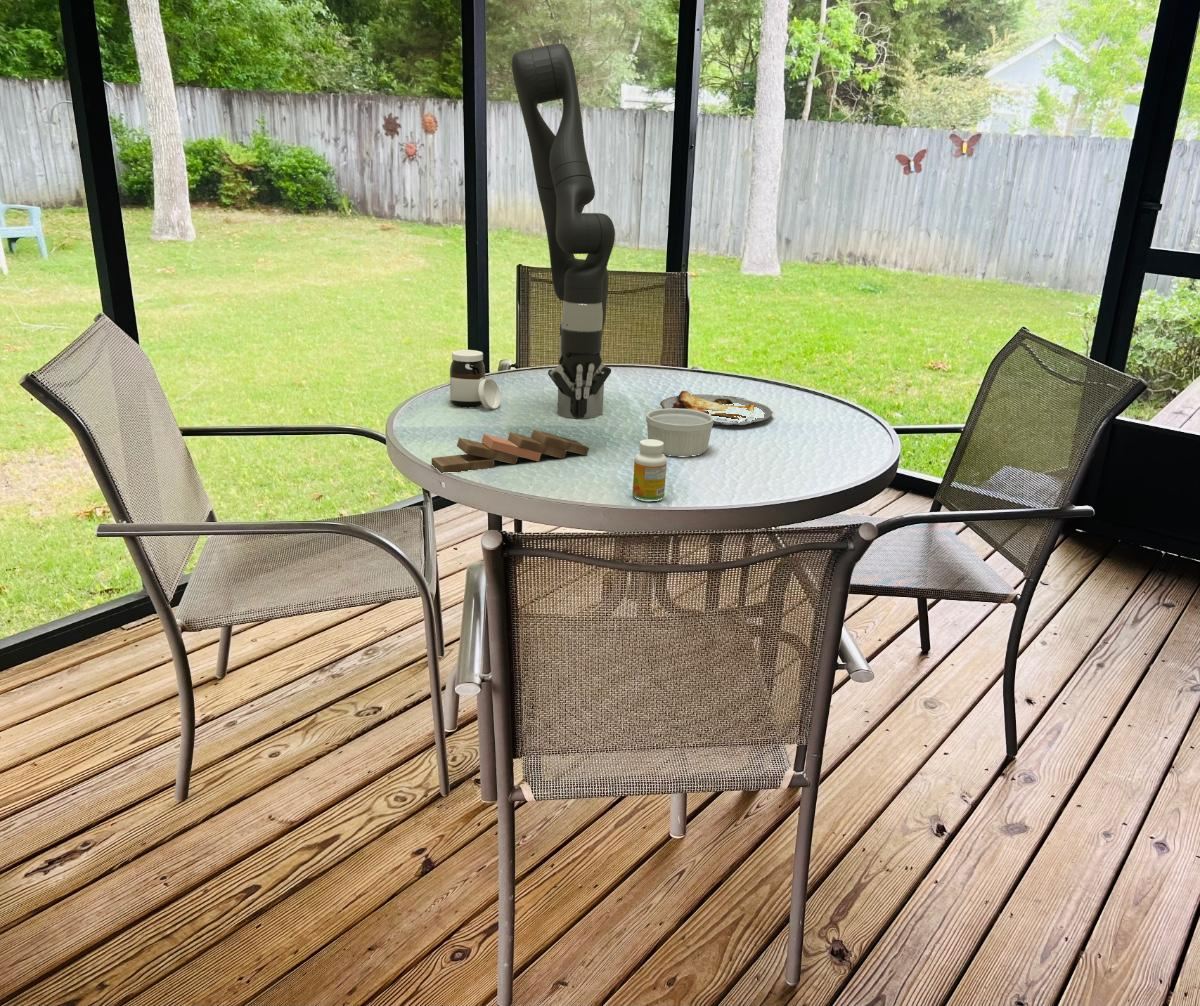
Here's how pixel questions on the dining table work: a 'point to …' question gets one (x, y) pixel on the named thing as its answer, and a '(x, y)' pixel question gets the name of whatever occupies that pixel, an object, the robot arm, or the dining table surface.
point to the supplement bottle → (649, 471)
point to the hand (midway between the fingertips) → (578, 417)
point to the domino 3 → (509, 447)
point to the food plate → (714, 405)
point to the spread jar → (471, 381)
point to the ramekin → (680, 430)
